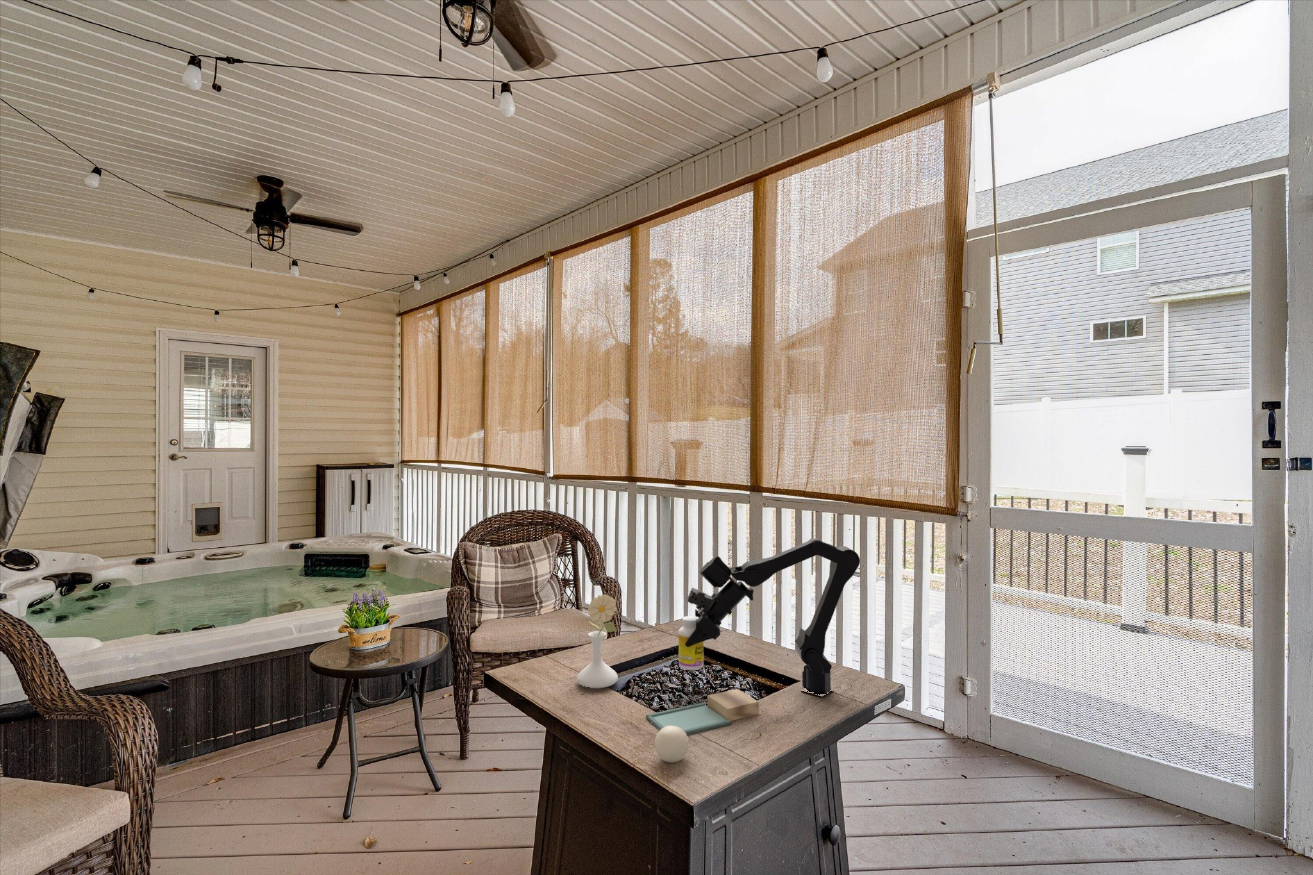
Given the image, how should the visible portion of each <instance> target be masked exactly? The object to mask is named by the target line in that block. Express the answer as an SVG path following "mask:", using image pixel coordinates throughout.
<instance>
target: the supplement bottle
mask: <svg viewBox="0 0 1313 875" xmlns="http://www.w3.org/2000/svg"><path fill="white" fill-rule="evenodd" d="M698 618H699V617H696V616H695V615H685V616H683V617H682V619H681V623H682V626H681V627H680V628H679V629H678V666H679V667H680V669H683V670H687V671H696V670H700V669H702V668H703V667H704V666H705V664H704V662H705V657H704V641H703V642H700V643H697V644H695V645H692V646H689V647H687V646H686V645H685V643H686V641H687V640H688V638H689V637H690V635H691V634H692V632H693V631H694V630H695V628H696V619H697V620H698Z"/></svg>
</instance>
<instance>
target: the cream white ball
mask: <svg viewBox="0 0 1313 875" xmlns="http://www.w3.org/2000/svg"><path fill="white" fill-rule="evenodd" d="M689 743H690V739H689V737H688V735H686V733H685V732H684V731H683V730H682V729H681V728H679V727H677V726H666V727H664V728H662V729H661V730H659V731H658V732H657V734H656V736H655V739H654V749H655V753H656V754H657V756H658V757H659V758H660V759H661V760H662V761H664V762H666V763H677V762H680V761H681V760H683V759H684V758H685V756H686V755H687V753H688V750H689Z"/></svg>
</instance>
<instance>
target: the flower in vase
mask: <svg viewBox="0 0 1313 875" xmlns="http://www.w3.org/2000/svg"><path fill="white" fill-rule="evenodd" d="M615 602H616V599H614V598H613V597H611V596H610V595H608V594H605V593H604V594H603V595H600V594H599V595H598V596H597V597H593V599H592V600H591V601H590V603H589V604H590V605H589V606H588V607H587V611H588V615H589V616H588V617H589V620H588V621H589V623H590V625H592V626H593V627H594V628H597V629H599V631H594V630H593V631H591V632H588V633H587V635H588V637H589V639H590V641H591V645H592V660H591V662H590V663H589V664H588V665H587V666H585V667H584V668H583V669H582V670H581V671H579V673H578V674H577V676H576V682H577V683H578V684H579V685H580V686H581V685H582V686H581V687H584V686H585V687H584V688H587V687H590V688H589V689H602V688H603V689H604V688H607V687H610V686H612V685H615V684H616V683H617V682H618V680H619V676H618V673H617V672H616V670H614V669H613V668H612V667H610V666H609V665H608V664H606V663H605V661H604V660H603V658H602V645H603V641H604V638H605V636H606V635H607V633H612V632H617V631H618V629H617V628H616V626H615V625H614V623H613V622H612V621H611V620H612V618H613V616H614V615H615V613H616V611H617V610H618V608H617V604H616V603H615ZM592 621H593V622H594V623H593V622H592ZM609 621H610V622H609ZM595 622H596V624H595ZM597 624H598V625H600V624H603V625H602V627H601V628H600V627H599V626H598V625H597ZM603 629H605V631H606V632H605V631H602V630H603Z"/></svg>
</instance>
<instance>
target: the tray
mask: <svg viewBox="0 0 1313 875" xmlns="http://www.w3.org/2000/svg"><path fill="white" fill-rule="evenodd" d="M646 718H647V719H648V720H647V719H646ZM645 719H646V720H647V721H649V720H650V721H649V722H650V723H651V722H652V723H651V724H652V725H653V726H654V727H656V729H658V730H659V731H660V730H661V729H662V728H664V727H666V726H677V727H679V728H681V729H682V730H683V731H684V732H685V733H686V735H687V736H688V735H692V734H696V733H697V734H698V733H701V732H704V731H708V730H713V729H717V728H721V727H722V728H723V727H725V726H730V725H731V721H730V720H726V719H724V718H723V717H722V716H720V715H719V714H717V713H716V712H714V711H713V710H712V709H710V708H709V707H708V706H707V705H706V703H705V702H698V703H695V704H690V705H687V706H680V707H677V708H671V709H667V710H663V711H657V712H653V713H649V714H645Z"/></svg>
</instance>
